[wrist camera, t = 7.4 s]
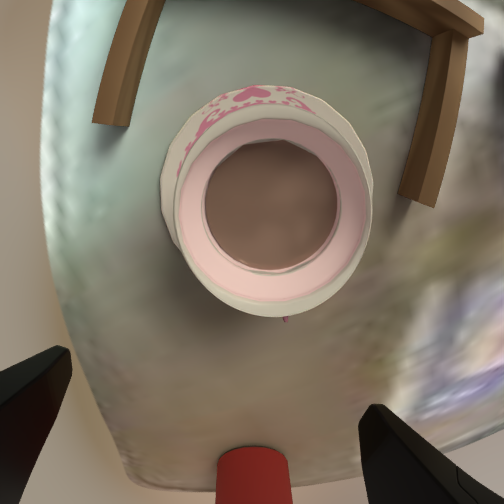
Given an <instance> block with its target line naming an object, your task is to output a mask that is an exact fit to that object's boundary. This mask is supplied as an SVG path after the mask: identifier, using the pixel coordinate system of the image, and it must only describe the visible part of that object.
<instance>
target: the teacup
mask: <svg viewBox="0 0 504 504" xmlns="http://www.w3.org/2000/svg"><path fill="white" fill-rule="evenodd" d="M160 187H161V211H162V214H163V216H164V219H165V222H166V225H167V227H168V230H169V233H170V235H171V238H172V240H173V242H174V244H175V245H176V246H177V247H178V249H179V250H180V251H181V252H182V255H183V257H184V259H185V261H186V263H187V264H188V266H189V268H190V269H191V271H192V272H193V274H194V275H195V276H196V278H197V279H198V280H199V281H200V283H201V284H202V285H203V286H204V287H205V288H206V289H207V290H208V291H209V292H210V293H212V294H213V295H214V296H215V297H217V298H218V299H220V300H221V301H223V302H224V303H226V304H228V305H229V306H231V307H233V308H235V309H238V310H240V311H243V312H246V313H249V314H253V315H258V316H264V317H283V320H284V322H288V316H290V315H294V314H299V313H302V312H305V311H307V310H310V309H312V308H314V307H316V306H318V305H320V304H321V303H323V302H325V301H326V300H327V299H329V298H330V297H331V296H333V295H334V294H335V293H336V292H337V291H338V290H339V289H340V288H341V287H342V286H343V285H344V284H345V283H346V282H347V280H348V279H349V278H350V277H351V275H352V274H353V272H354V271H355V269H356V268H357V266H358V264H359V262H360V260H361V258H362V256H363V254H364V251H365V249H366V246H367V243H368V239H369V235H370V230H371V224H372V193H373V178H372V174H371V169H370V165H369V160H368V156H367V152H366V150H365V148H364V146H363V144H362V143H361V141H360V139H359V138H358V136H357V134H356V133H355V131H354V129H353V128H352V126H351V124H350V123H349V122H348V121H347V120H346V119H345V118H344V117H343V116H341V115H340V114H339V113H338V112H337V111H336V110H334V109H333V108H332V107H331V106H330V105H329V104H327V103H326V102H325V101H324V100H322V99H320V98H317V97H315V96H312V95H310V94H307V93H305V92H302V91H300V90H297V89H294V88H292V87H284V86H265V85H253V86H249V87H246V88H242V89H239V90H235V91H232V92H229V93H225V94H222V95H219V96H218V97H217V98H215V99H214V100H212V101H211V102H209V103H208V104H206V105H205V106H204V107H202V108H201V109H199V110H198V111H197V112H195V113H194V114H192V115H191V116H190V117H189V119H188V120H187V121H186V123H185V124H184V126H183V127H182V128H181V130H180V131H179V132H178V134H177V135H176V137H175V138H174V140H173V141H172V142H171V144H170V146H169V150H168V153H167V156H166V159H165V163H164V166H163V169H162V173H161V176H160Z"/></svg>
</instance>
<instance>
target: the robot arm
mask: <svg viewBox="0 0 504 504" xmlns="http://www.w3.org/2000/svg"><path fill="white" fill-rule="evenodd" d="M71 376H72V362H71V354H70V351H69V349H68V348H65V347H62V346H58V345H56V346H53V347H51V348H49V349H47V350H45V351H43V352H41V353H38V354H36V355H34V356H32V357H30V358H28V359H26V360H24V361H22V362H20V363H17V364H15V365H13V366H11V367H9V368H7V369H5V370H3V371H0V504H19V502H20V499H21V497H22V494H23V492H24V489H25V487H26V484H27V482H28V480H29V477H30V475H31V472H32V470H33V468H34V465H35V463H36V461H37V459H38V456H39V454H40V452H41V450H42V447H43V445H44V443H45V441H46V439H47V437H48V434H49V433H50V430H51V428H52V426H53V424H54V422H55V420H56V418H57V415H58V412H59V409H60V407H61V404H62V401H63V398H64V396H65V393H66V390H67V387H68V384H69V382H70V379H71ZM358 431H359V441H360V452H361V463H362V470H363V476H364V481H365V486H366V491H367V497H368V502H369V504H504V498H502V497H501V496H499V495H497V494H496V493H494V492H493V491H491V490H490V489H488V488H487V487H485V486H484V485H482V484H481V483H479V482H478V481H476V480H475V479H473V478H472V477H471V476H470V475H468V474H467V473H466V472H464V471H463V470H462V469H461V468H459V467H458V466H456V464H454V463H453V462H452V461H451V460H449V459H448V458H447V457H446V456H445V455H443V454H442V453H441V452H440V451H438V450H437V449H436V448H435V447H434V446H432V445H431V444H430V443H429V442H428V441H426V440H425V439H424V438H423V437H422V436H420V435H419V434H418V433H417V432H416V431H414V430H413V429H412V428H411V427H410V426H408V425H407V424H406V423H405V422H404V421H402V420H401V419H400V418H399V417H398V416H396V415H395V414H394V413H393V412H392V411H391V410H389V409H388V408H387V407H386V406H385V405H383V404H371V405H370V406H369V407H368V409H367V410H366V412H365V413H364V415H363V416H362V418H361V419H360V421H359V425H358Z"/></svg>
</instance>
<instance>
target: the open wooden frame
mask: <svg viewBox="0 0 504 504" xmlns="http://www.w3.org/2000/svg"><path fill="white" fill-rule="evenodd" d="M165 1H166V0H127V2H126V4H125V7H124V9H123V12H122V15H121V18H120V20H119V23H118V26H117V29H116V32H115V35H114V38H113V41H112V45H111V48H110V51H109V54H108V58H107V61H106V65H105V68H104V72H103V76H102V80H101V83H100V87H99V91H98V96H97V100H96V104H95V109H94V114H93V118H92V123H98V124H106V125H115V126H128V127H129V125H130V120H131V116H132V111H133V107H134V103H135V99H136V95H137V91H138V87H139V83H140V79H141V75H142V72H143V68H144V65H145V61H146V58H147V54H148V51H149V48H150V44H151V41H152V38H153V35H154V32H155V29H156V26H157V23H158V20H159V17H160V14H161V12H162V9H163V6H164V3H165ZM353 1H356V2H358V3H361V4H364V5H366V6H368V7H371V8H373V9H376V10H378V11H380V12H383V13H385V14H387V15H389V16H391V17H394V18H396V19H398V20H400V21H402V22H404V23H406V24H408V25H410V26H412V27H414V28H416V29H418V30H420V31H422V32H423V33H425V34H427V35H429V36H431V37H432V43H431V50H430V57H429V63H428V69H427V74H426V80H425V85H424V90H423V96H422V100H421V105H420V110H419V114H418V119H417V123H416V128H415V132H414V136H413V140H412V144H411V148H410V152H409V155H408V159H407V163H406V167H405V170H404V174H403V177H402V181H401V184H400V188H399V191H398V194H400V195H402V196H404V197H407V198H409V199H412V200H414V201H416V202H419V203H421V204H424V205H427V206H429V207H432V208H434V207H435V204H436V200H437V197H438V194H439V190H440V187H441V183H442V180H443V176H444V173H445V169H446V165H447V161H448V157H449V153H450V149H451V145H452V141H453V136H454V132H455V127H456V122H457V117H458V112H459V107H460V101H461V95H462V89H463V82H464V76H465V68H466V60H467V51H468V40H469V38H472V37H475V36H478V35H481V34H483V33H484V18H483V17H482V16H480V15H479V14H477V13H476V12H475V11H473V10H472V9H470V8H469V7H467V6H466V5H464V4H463V3H461V2H460V1H458V0H353Z"/></svg>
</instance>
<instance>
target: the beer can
mask: <svg viewBox="0 0 504 504" xmlns="http://www.w3.org/2000/svg"><path fill="white" fill-rule="evenodd" d="M215 504H293V501H292V494H291V485H290V478H289V470H288V462H287V460H286V458H285V457H284V455H283V454H281V453H280V452H278V451H276V450H274V449H271V448H267V447H260V446H246V447H241V448H236V449H233V450H231V451H229V452H227V453H225V454H224V455H223V456H222V457H221V458H220V459H219V462H218V464H217V481H216V502H215Z"/></svg>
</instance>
